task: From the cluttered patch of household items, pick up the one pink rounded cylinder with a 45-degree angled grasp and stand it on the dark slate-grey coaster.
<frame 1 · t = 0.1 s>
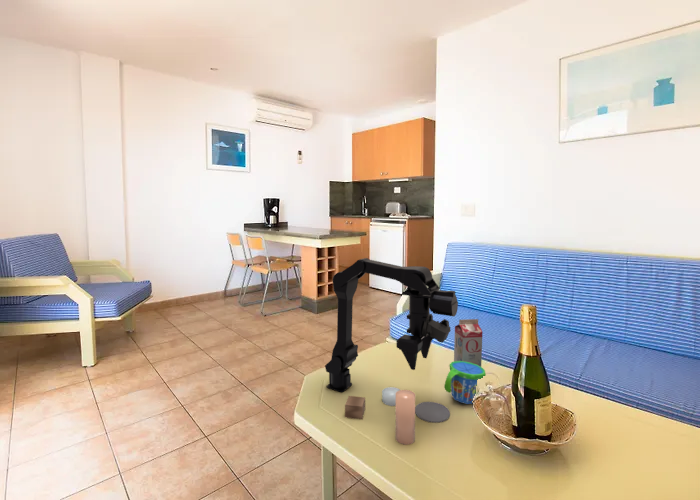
hand: (419, 363, 104), 15 cm above the table, tool pointing down, fingers open, 9 cm apart
walnut block: (355, 414, 105), on the table
snack cup: (463, 399, 112), on the table
pink rounded cylinder: (405, 438, 93), on the table
juice carton: (466, 383, 122), on the table
coaster: (432, 412, 105), on the table
white dome: (391, 401, 112), on the table
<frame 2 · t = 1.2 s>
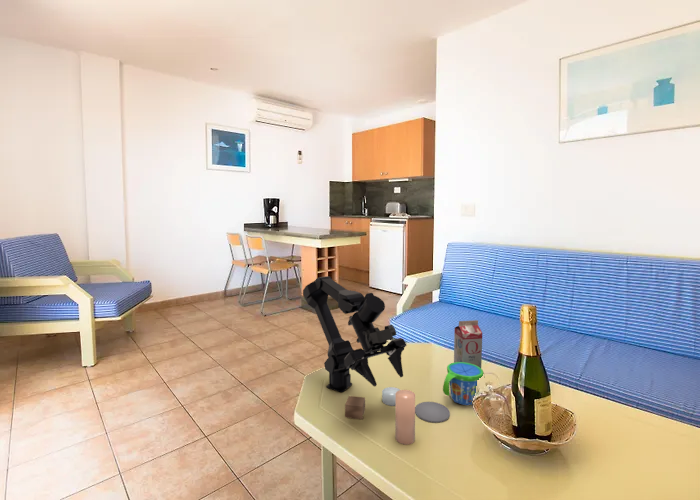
hand: (389, 381, 97), 13 cm above the table, tool tilted 45°, fingers open, 9 cm apart
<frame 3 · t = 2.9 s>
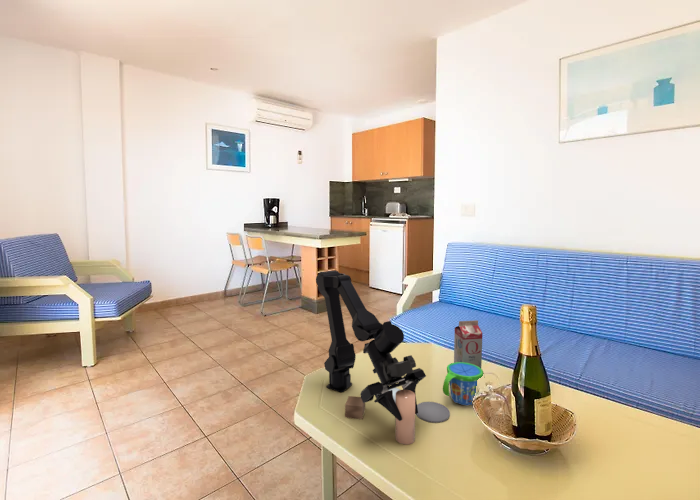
hand: (409, 416, 91), 7 cm above the table, tool tilted 45°, fingers closed on pink rounded cylinder, 5 cm apart
pink rounded cylinder: (405, 438, 93), on the table, touching gripper
everything else where it was.
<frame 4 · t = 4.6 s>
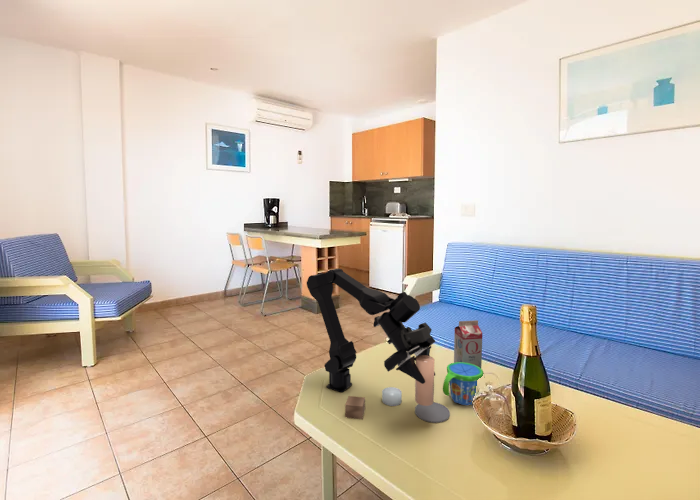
hand: (429, 379, 97), 13 cm above the table, tool tilted 45°, fingers closed on pink rounded cylinder, 5 cm apart
pink rounded cylinder: (424, 400, 99), point 7 cm above the table, touching gripper
everything else where it was.
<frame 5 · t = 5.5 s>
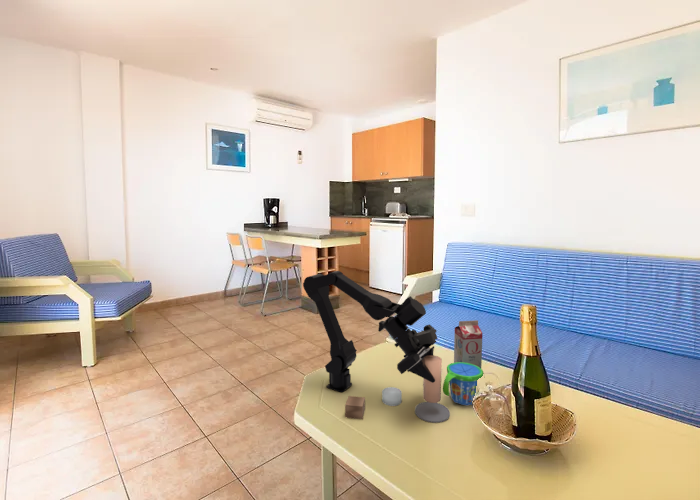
hand: (437, 377, 103), 11 cm above the table, tool tilted 45°, fingers closed on pink rounded cylinder, 5 cm apart
pink rounded cylinder: (431, 398, 104), point 4 cm above the table, touching gripper
everything else where it was.
when the fingers open (9 cm above the table, at t = 6.2 s): pink rounded cylinder drops 1 cm, resting on coaster.
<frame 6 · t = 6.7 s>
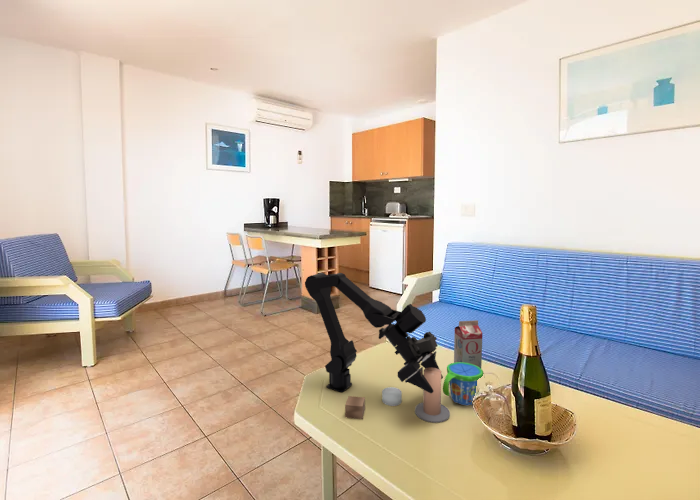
hand: (437, 385, 103), 9 cm above the table, tool tilted 45°, fingers open, 9 cm apart
pink rounded cylinder: (432, 410, 105), point 1 cm above the table, touching coaster
everything else where it was.
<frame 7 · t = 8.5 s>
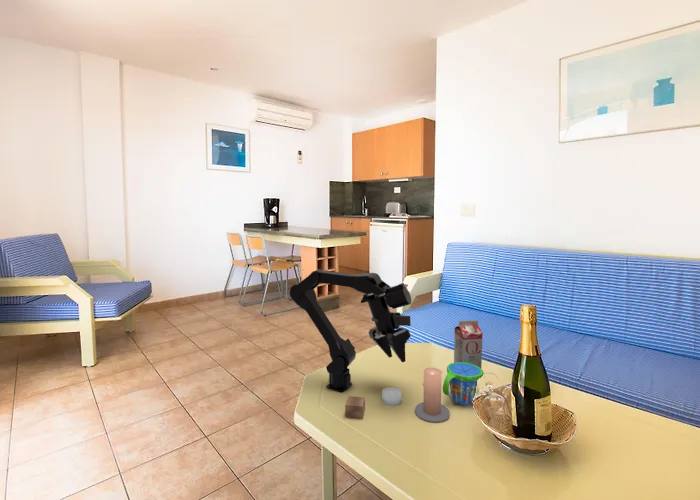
hand: (397, 359, 112), 12 cm above the table, tool tilted 20°, fingers open, 9 cm apart
nothing on the table moved.
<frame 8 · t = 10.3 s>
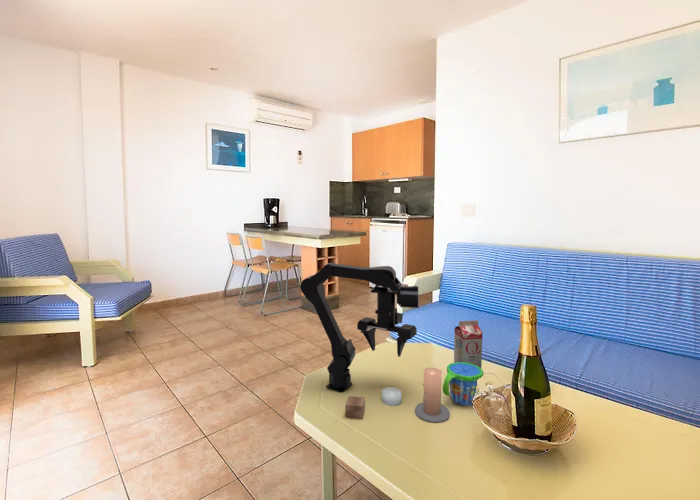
hand: (386, 353, 116), 13 cm above the table, tool pointing down, fingers open, 9 cm apart
nothing on the table moved.
at the end: pink rounded cylinder 0.1 cm from the coaster (horizontally); pink rounded cylinder tilted 0°; the gripper is holding nothing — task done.
